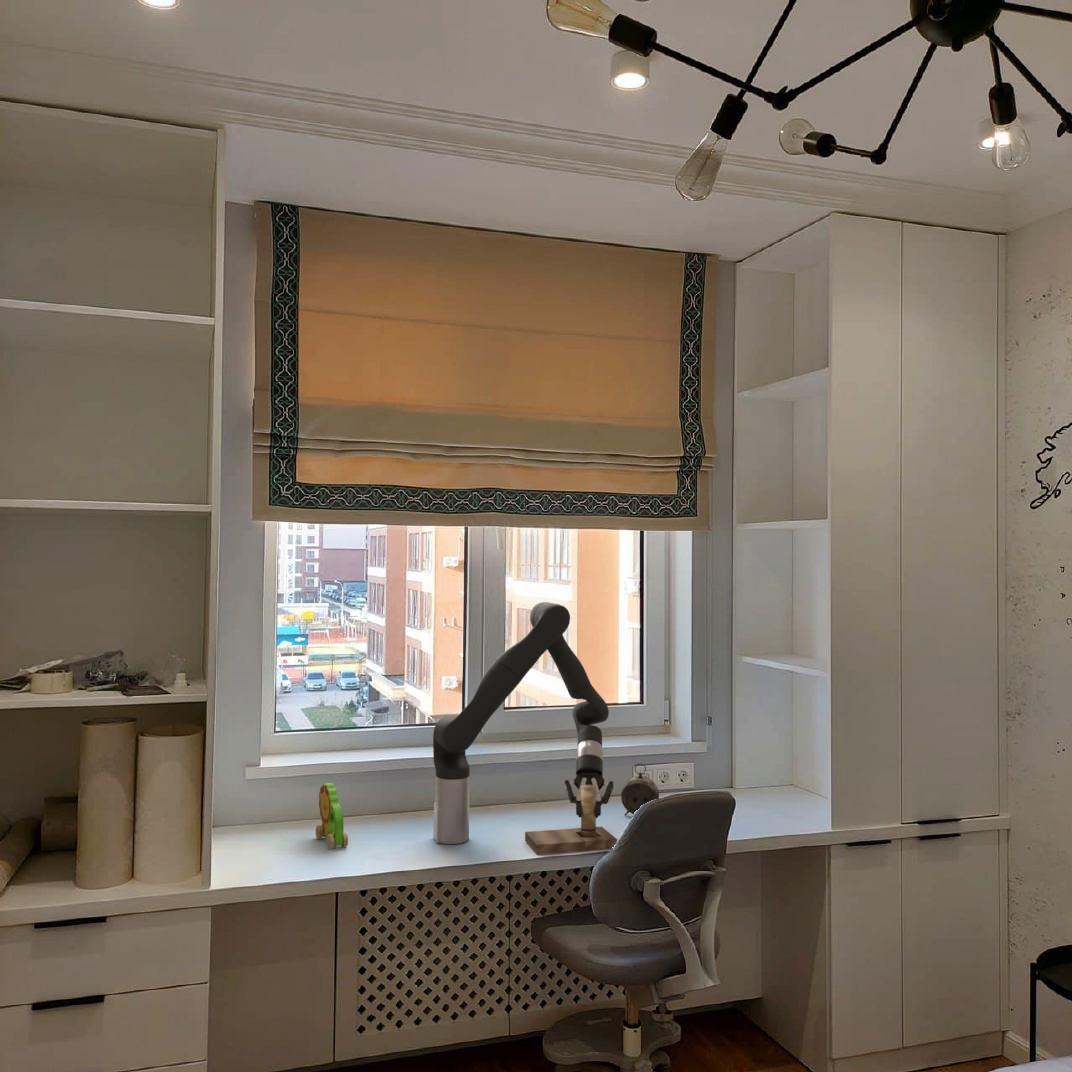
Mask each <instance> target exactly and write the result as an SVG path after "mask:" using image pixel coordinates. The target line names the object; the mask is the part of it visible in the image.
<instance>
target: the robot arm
mask: <svg viewBox="0 0 1072 1072" xmlns="http://www.w3.org/2000/svg"><path fill="white" fill-rule="evenodd" d="M529 620H530V624H531V626H532V629H531V630H530V631H529V632H528V634H526V635H525V637H523V638H522V639H521V640H520V641H518V642H516V643H515V644H514V645H511V647H509V648H507V649H506V650H505V651H503V652H502V653H501V654H500V655H499V656H498V657H497V658H496V659H495V660H494V661H493V662H492V664H491V665H490V666H489V667H488V668H487V670H486V671H485V672H484V673H483V675H482V677H481V679H480V681H479V684H478V686H477V688H476V691H475V693H474V695H473V696H472V698H471V700H470V701H469V703H468V704H467V705H466V706H465V707H464V709H462V711H461V712H460V713H459V714H458V715H454V714H453V715H451V714H450V715H449V714H448V715H444V716H442V717H441V718H440V719H438V720H437V722H436V723H435V726H434V729H433V735H432V737H433V738H432V740H433V741H432V742H433V745H432V746H433V748H432V749H433V751H432V752H433V757H432V758H433V765H434V767H435V768H434V769H435V795H434V796H435V801H434V802H433V832H432V833H433V839H434V840H435V842H436V844H444V845H457V844H458V845H459V844H464V843H466V842H468V841H469V840H470V777H471V776H470V764H469V762H468V760H467V756H466V750H468V749H469V748H470V747H471V745H472V744H473V743H474V742H475V741H476V739H477V737H478V736H479V734H480V733H481V731H482V730H483V728H484V726H485V725H486V724H487V722H488V721H489V720H490V718H491V717H492V716H493V714H494V713H495V712H496V711H497V710H498V708H500V706H501V705H502V704H503V703H504V702H505V700H506V699H507V698H508V697H509V696H510V695H511V694H512V693H513V692H514V690H515V689H516V688H517V687H518V685H519V684H520V683H521V681H522V680H523V679H524V678H525V677H526V675H527V674H528V673H529V671H530V670H531V669H532V668H533V667H534V665H536V663H537V662H538V660H540V658H541V657H542V655H544V653H545V652H546V651H548V654H549V655H550V656H551V659H552V661H553V662H554V664H555V666H556V668H557V670H558V672H559V674H560V677H561V679H562V681H563V683H564V686H565V688H566V690H567V692H568V694H569V696H570V698H572V699H575V700H584V701H582V702H578V703H576V704H575V705H574V706H573V709H572V711H571V712H572V718H573V721H574V724H575V728H576V732H577V748H576V754H575V777H574V778H573V779H572V780H569V779H566V780H564V788H565V790H566V794H567V797H568V800H569V803H571V804H575V806H576V807H575V814H576V816H578V818H581V786H582V785H594V786H596V819H598V818H599V817H600V816H601V815H602V807H601V806H602V805H607V804H608V802H609V801H610V800H609V799H610V798H611V795H612V793H613V789H614V782H613V781H612V780H610V781H606V780H605V778H604V777H603V775H604V773H603V772H604V752H603V733H602V729H600V728H599V726H597V725H596V724H600V723H604V722H605V721H607V720H608V718H609V714H610V710H609V706H608V705H607V702H606V701H605V700H604V699H603V697H602V696H601V695H600V694H599V692H597V690H596V689H595V687H594V686H593V685H592V683H591V680H590V679H589V676H588V674H587V671H586V669H585V668H584V666H583V664H582V662H581V661H580V660H579V658H578V657H577V655H576V654H575V653H574V651H573V650H572V648H571V646H569V643H567V641H566V639H565V637H564V635H563V634H564V633H565V632H566V631H567V629H568V628H569V626H570V622H571V614H570V612H569V610H568V608H566V607H565V606H564V605H561V604H559V603H553V602H550V601H549V602H547V601H546V602H545V601H543V602H539V603H536V604H535V605H534V606H533V607H532V609H531V611H530V614H529ZM574 786H575V787H576V788H577V791H578V793H577V795H576V796H575V795H574V792H573V789H574ZM603 787H604V789H605V792H604V794H603V796H601V795H600V790H601V789H602V788H603ZM463 842H464V843H463Z"/></svg>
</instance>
